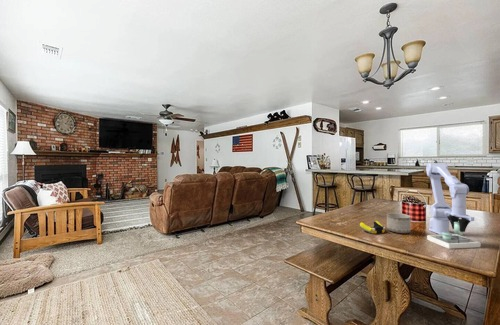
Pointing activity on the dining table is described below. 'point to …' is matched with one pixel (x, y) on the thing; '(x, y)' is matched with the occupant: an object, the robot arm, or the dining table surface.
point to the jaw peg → (457, 228)
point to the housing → (453, 241)
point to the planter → (398, 222)
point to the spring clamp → (373, 228)
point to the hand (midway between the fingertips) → (458, 230)
